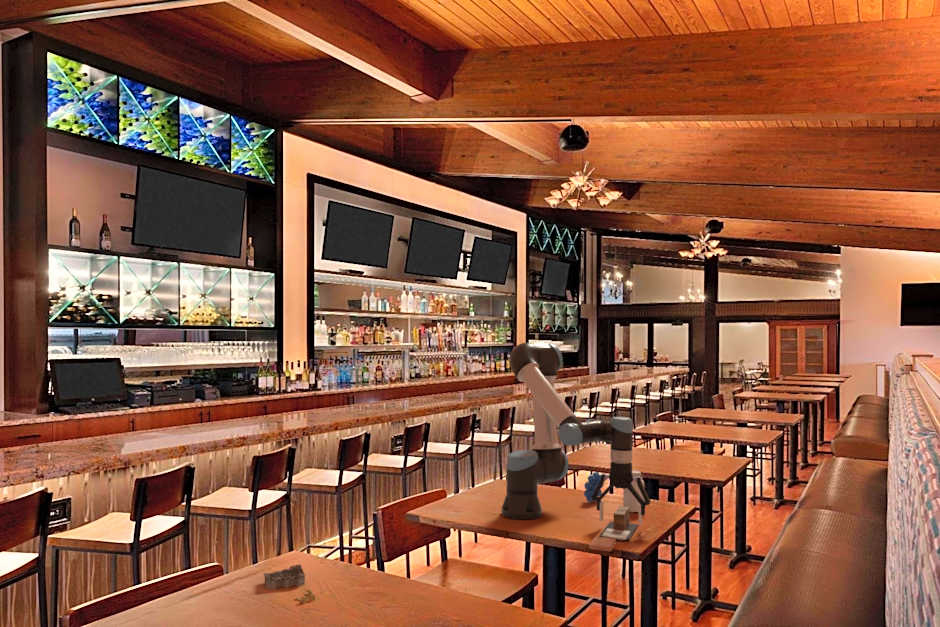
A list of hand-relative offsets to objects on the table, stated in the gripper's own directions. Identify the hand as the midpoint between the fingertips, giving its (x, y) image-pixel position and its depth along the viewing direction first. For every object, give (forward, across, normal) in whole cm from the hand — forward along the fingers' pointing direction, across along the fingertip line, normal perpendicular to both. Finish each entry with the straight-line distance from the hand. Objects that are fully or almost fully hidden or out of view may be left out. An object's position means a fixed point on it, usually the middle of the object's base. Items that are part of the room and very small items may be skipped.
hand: (620, 522), depth 263 cm
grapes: (+3, -18, +38) cm, 42 cm away
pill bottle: (+3, 0, +30) cm, 30 cm away
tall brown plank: (+2, 0, -3) cm, 4 cm away
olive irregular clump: (+4, -64, -99) cm, 118 cm away
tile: (+2, -2, -16) cm, 17 cm away
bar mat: (+3, 0, -2) cm, 4 cm away
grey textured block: (+3, -76, -92) cm, 119 cm away
